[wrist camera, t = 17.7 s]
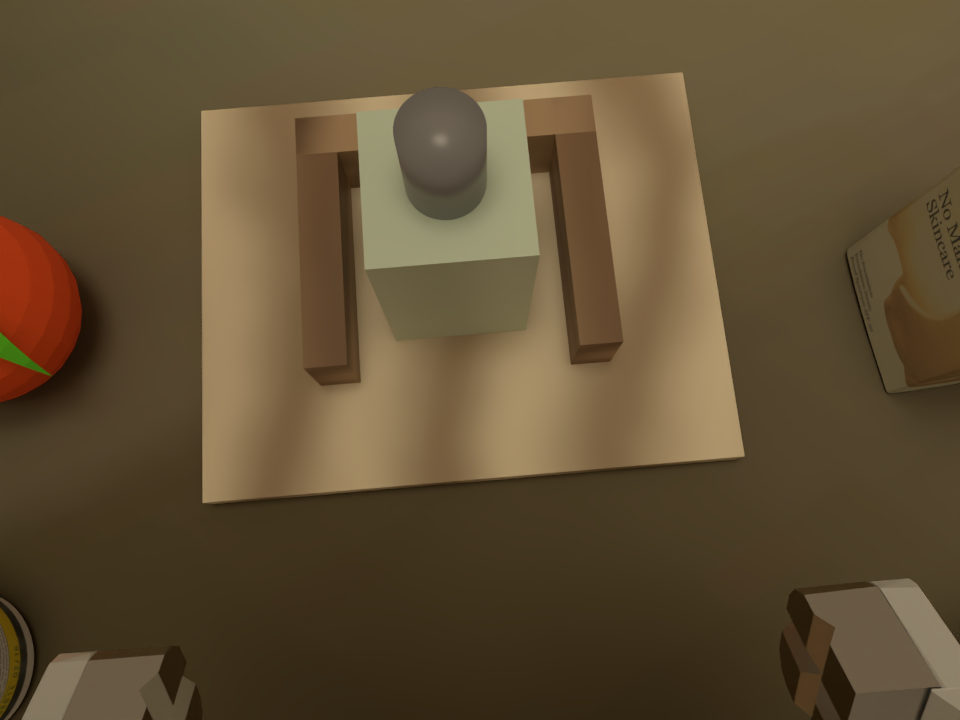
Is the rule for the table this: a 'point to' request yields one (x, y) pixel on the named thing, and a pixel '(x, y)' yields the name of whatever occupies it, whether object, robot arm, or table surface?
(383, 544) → the table surface
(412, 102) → the sage bottle
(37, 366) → the clementine
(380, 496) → the table surface
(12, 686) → the supplement bottle
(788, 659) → the robot arm
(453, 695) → the table surface
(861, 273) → the skincare box
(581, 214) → the u rest
